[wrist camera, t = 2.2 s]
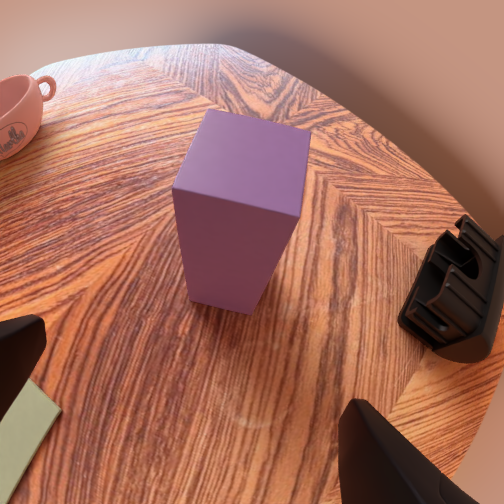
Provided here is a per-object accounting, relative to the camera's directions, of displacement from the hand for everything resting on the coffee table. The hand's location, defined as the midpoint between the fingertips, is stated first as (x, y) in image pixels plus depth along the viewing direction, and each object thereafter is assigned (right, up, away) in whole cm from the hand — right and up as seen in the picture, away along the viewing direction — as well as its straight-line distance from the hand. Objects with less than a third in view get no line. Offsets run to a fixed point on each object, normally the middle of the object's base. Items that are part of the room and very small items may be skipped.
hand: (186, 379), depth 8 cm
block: (0, +1, +15) cm, 16 cm away
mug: (-24, +17, +20) cm, 35 cm away
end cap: (+19, -1, +17) cm, 25 cm away
